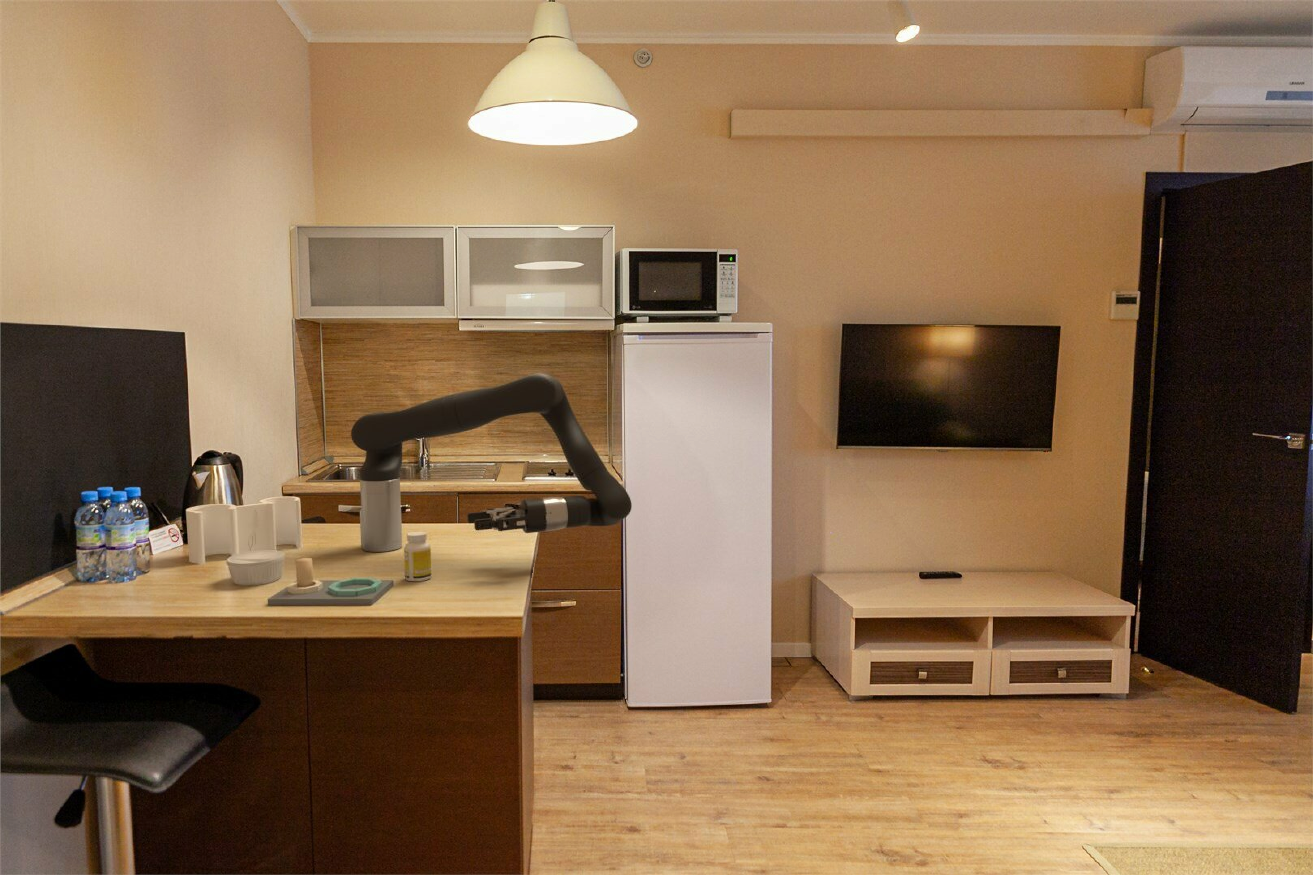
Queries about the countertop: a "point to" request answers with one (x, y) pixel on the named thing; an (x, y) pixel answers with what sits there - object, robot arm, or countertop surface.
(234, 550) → the bracket
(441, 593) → the countertop surface
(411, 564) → the supplement bottle
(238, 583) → the ramekin
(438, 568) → the countertop surface
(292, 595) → the socket board
